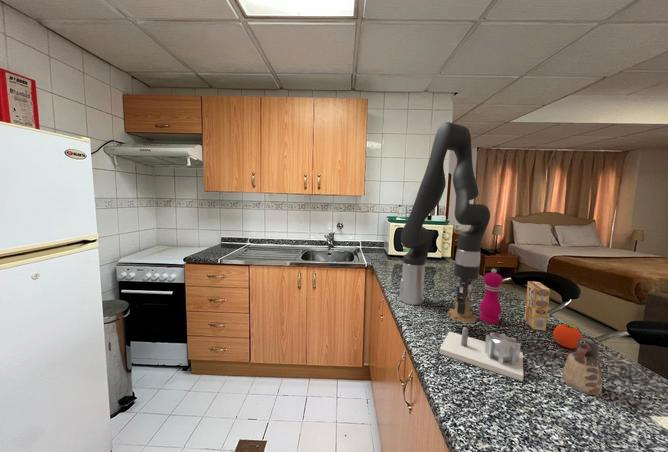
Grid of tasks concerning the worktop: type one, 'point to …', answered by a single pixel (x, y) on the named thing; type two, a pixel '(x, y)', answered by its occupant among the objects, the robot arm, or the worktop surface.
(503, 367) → the carrier plate
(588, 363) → the figurine
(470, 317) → the planet gear
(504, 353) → the sun gear
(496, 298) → the pepper mill
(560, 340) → the clementine
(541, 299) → the candy box
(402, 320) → the worktop surface
